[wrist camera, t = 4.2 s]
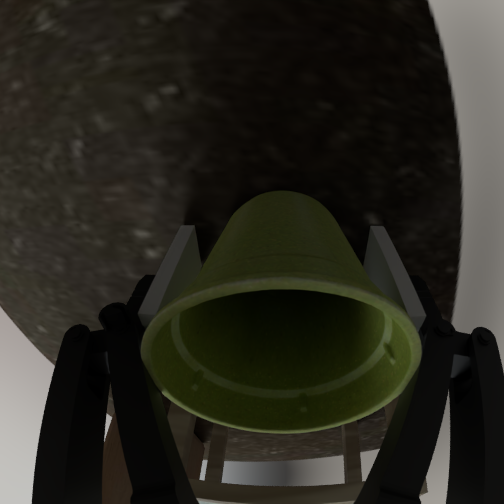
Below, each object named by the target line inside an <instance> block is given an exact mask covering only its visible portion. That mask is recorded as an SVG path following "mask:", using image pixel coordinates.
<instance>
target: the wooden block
mask: <svg viewBox="0 0 504 504" xmlns="http://www.w3.org/2000/svg"><path fill="white" fill-rule="evenodd" d="M204 449H205V448H204V445H203V443H202V442H201V441H200V440H199V439H198V437H197V436H196V435H195V434H194V433H193V438H192V443H191V448H190V453H189V459H188V464H187V469H186V474H187V477H188V478H189V479H196V480H199V478H200V473H201V466H202V461H203V455H204ZM132 494H133V490H132V486H131V482H130V478H129V474H128V471H127V467H126V463H125V458H124V454H123V450H122V445H121V440H120V435H119V430H118V425H117V420H116V414H115V413H114V414H113V417H112V420H111V423H110V426H109V429H108V432H107V436H106V438H105V442H104V450H103V471H102V504H131V503H130V497H131V495H132Z"/></svg>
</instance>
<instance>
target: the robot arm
mask: <svg viewBox="0 0 504 504" xmlns="http://www.w3.org/2000/svg"><path fill="white" fill-rule="evenodd" d="M201 267H202V265H201V260H200V254H199V248H198V242H197V236H196V230H195V225H181V227H180V229H179V231H178V233H177V234H176V236H175V238H174V240H173V242H172V244H171V246H170V248H169V250H168V252H167V254H166V256H165V258H164V260H163V262H162V264H161V266H160V268H159V270H158V272H157V274H156V275H145V276H144V277H143V278H142V279H141V280H140V281H139V282H138V284H137V286H136V288H135V291H133V293H132V297H130V299H129V301H128V303H127V305H125V304H123V303H119V302H117V303H112V304H109V305H107V306H106V307H104V308H103V309H102V310H101V312H100V313H99V317H98V318H99V320H100V322H101V324H102V326H103V328H104V329H103V330H98V331H91V332H90V330H89V328H88V327H87V326H85V325H82V324H79V325H75V326H73V327H71V328H70V329H69V330H68V331H67V332H66V333H65V335H64V338H63V341H62V344H61V347H60V351H59V354H58V358H57V361H56V365H55V368H54V372H53V376H52V380H51V384H50V388H49V392H48V396H47V401H46V405H45V410H44V415H43V420H42V425H41V430H40V436H39V443H38V449H37V456H36V463H35V472H34V483H33V494H32V504H102V471H103V450H104V435H105V423H106V413H107V404H108V395H109V387H110V381H111V388H112V395H113V402H114V408H115V414H116V420H117V425H118V430H119V435H120V440H121V445H122V450H123V454H124V458H125V463H126V467H127V471H128V474H129V478H130V482H131V486H132V490H133V494H132V495H131V497H130V503H131V504H199V502H198V500H197V499H196V497H195V495H194V492H193V490H192V487H191V485H190V482H189V480H188V477H187V474H186V472H185V469H184V466H183V463H182V461H181V458H180V455H179V452H178V449H177V446H176V443H175V440H174V437H173V434H172V431H171V428H170V424H169V421H168V418H167V414H166V411H165V408H164V404H163V401H162V397H161V394H160V390H159V389H158V387H157V386H156V385H155V383H154V381H153V379H152V378H151V376H150V374H149V372H148V370H147V368H146V367H145V365H144V363H143V361H142V358H141V343H142V339H143V336H144V333H145V331H146V329H147V327H148V325H149V324H150V322H151V320H152V319H153V318H154V316H155V315H156V314H157V313H158V312H159V311H160V310H161V309H162V308H163V307H164V306H166V305H167V304H168V303H169V302H171V301H172V300H174V299H175V298H177V297H179V296H180V294H181V293H182V292H183V291H184V290H185V289H186V288H187V287H188V286H189V285H190V284H191V283H192V282H193V281H195V279H196V277H197V276H198V274H199V272H200V270H201ZM363 268H364V270H365V272H366V273H367V275H368V277H369V279H370V280H371V281H372V282H373V283H374V284H375V285H376V286H377V287H378V288H379V289H380V290H381V291H382V292H383V294H385V295H386V296H388V297H390V298H391V299H392V300H393V301H395V302H396V303H397V304H398V305H399V306H401V307H402V308H403V309H404V310H405V312H406V313H407V314H408V315H409V316H410V318H411V320H412V321H413V323H414V325H415V326H416V329H417V331H418V334H419V336H420V340H421V345H422V355H421V361H420V365H419V366H418V368H417V370H416V371H415V373H414V375H413V376H412V378H411V379H410V381H409V383H408V384H407V386H406V387H405V389H404V390H403V392H402V393H401V394H400V396H399V399H398V402H397V405H396V408H395V411H394V414H393V416H392V419H391V422H390V425H389V427H388V430H387V433H386V435H385V438H384V440H383V443H382V445H381V448H380V450H379V452H378V455H377V457H376V459H375V462H374V464H373V466H372V468H371V471H370V473H369V475H368V477H367V479H366V481H365V483H364V485H363V487H362V489H361V491H360V493H359V495H358V497H357V499H356V501H355V502H354V503H353V504H421V501H420V499H419V495H420V492H421V489H422V486H423V483H424V481H425V478H426V475H427V472H428V469H429V466H430V462H431V460H432V456H433V453H434V450H435V446H436V443H437V439H438V435H439V431H440V427H441V423H442V419H443V414H444V410H445V405H446V400H447V396H448V390H449V398H450V464H449V479H448V491H447V499H446V504H504V373H503V368H502V363H501V359H500V354H499V350H498V346H497V342H496V339H495V336H494V334H493V333H492V332H491V331H490V330H488V329H487V328H484V327H477V328H475V329H474V330H473V332H472V333H471V334H467V333H461V332H457V331H456V330H455V328H454V327H453V325H452V324H451V323H449V322H448V321H446V320H443V319H442V317H441V314H440V312H439V310H438V308H437V306H436V304H435V301H434V299H433V298H432V295H431V293H430V292H429V289H428V287H427V285H426V283H425V282H424V281H423V280H422V279H421V278H420V277H419V276H408V273H407V271H406V269H405V267H404V265H403V263H402V261H401V259H400V257H399V255H398V253H397V251H396V249H395V247H394V245H393V243H392V241H391V239H390V237H389V235H388V234H387V232H386V230H385V228H384V226H370V231H369V237H368V243H367V248H366V254H365V259H364V264H363Z"/></svg>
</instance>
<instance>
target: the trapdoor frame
mask: <svg viewBox="0 0 504 504" xmlns="http://www.w3.org/2000/svg"><path fill="white" fill-rule="evenodd" d="M399 396H400V395H398V396H397V397H396V398H395V399H393V400H392V401H391V402H390V403H388V404H387V405H385V406H384V407H385V413H386V420H387V426H388V427H389V425H390V422H391V419H392V416H393V414H394V411H395V408H396V405H397V402H398V399H399ZM196 417H197V416H196V415H194V414H192V413H190V412H188V411H186V410H185V409H183V408H182V407H180V406H178V405H177V404H175V403H174V402H172V401H171V404H170V408H169V412H168V416H167V418H168V421H169V424H170V428H171V431H172V434H173V437H174V440H175V443H176V446H177V449H178V452H179V455H180V458H181V461H182V463H183V466H184V469H185V472H186V469H187V464H188V459H189V453H190V448H191V443H192V438H193V433H194V428H195V422H196ZM228 429H229V427H228V426H224V425H220V424H217V423H214V425H213V431H212V437H211V443H210V449H209V456H208V462H207V468H206V474H205V481H203V480H196V479H189V478H188V480H189V482H190V485H191V487H192V490H193V492H194V495H195V497H196V499H197V500H198V501H203V502H210V503H218V504H353V503H354V502H355V501H356V499H357V497H358V495H359V493H360V491H361V489H362V487H363V485H364V483H365V481H363V482H362V473H361V459H360V446H359V435H358V425H357V421H353V422H350V423H346V424H343V425H342V438H343V455H344V472H345V473H344V474H345V484H334V485H319V486H287V487H286V486H254V485H239V484H227V483H221V481H222V473H223V467H224V459H225V452H226V444H227V437H228ZM427 492H428V491H427V483H426V478H425V481H424V483H423V486H422V489H421V492H420V495H419V496H421V495H423V494H425V493H427Z"/></svg>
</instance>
